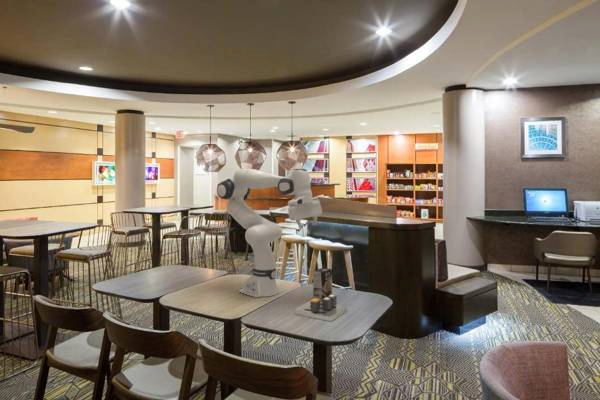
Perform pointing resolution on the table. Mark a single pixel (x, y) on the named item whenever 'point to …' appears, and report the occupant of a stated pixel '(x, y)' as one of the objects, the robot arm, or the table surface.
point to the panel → (321, 312)
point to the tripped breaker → (315, 305)
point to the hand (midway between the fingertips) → (307, 226)
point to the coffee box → (322, 283)
